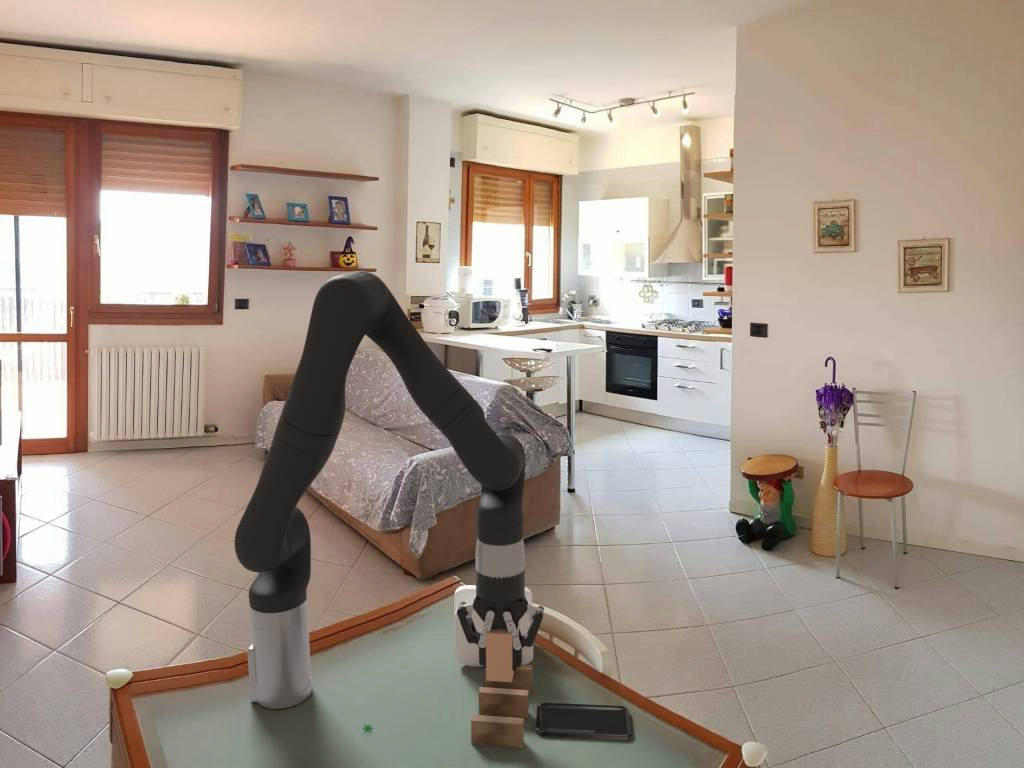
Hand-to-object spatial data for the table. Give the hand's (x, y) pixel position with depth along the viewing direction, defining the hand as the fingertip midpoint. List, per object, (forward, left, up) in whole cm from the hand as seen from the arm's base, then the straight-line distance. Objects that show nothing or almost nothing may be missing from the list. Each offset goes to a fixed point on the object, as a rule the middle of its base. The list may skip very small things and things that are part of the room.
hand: (500, 666), depth 122 cm
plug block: (0, 0, -1) cm, 1 cm away
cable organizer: (-4, +22, -11) cm, 25 cm away
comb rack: (0, +4, -11) cm, 11 cm away
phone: (+13, +3, -11) cm, 17 cm away
